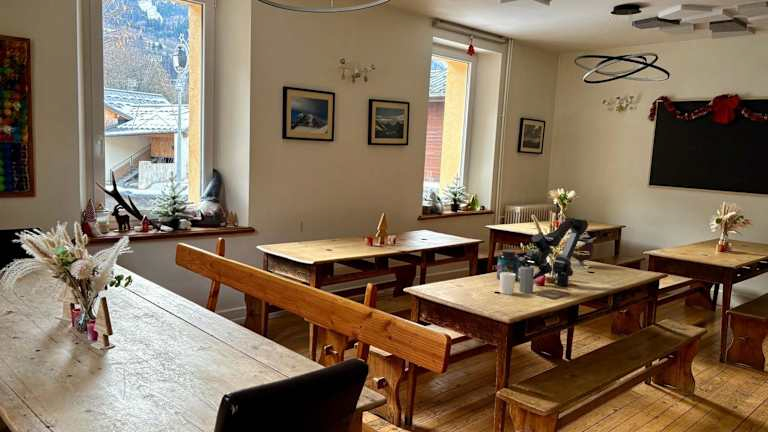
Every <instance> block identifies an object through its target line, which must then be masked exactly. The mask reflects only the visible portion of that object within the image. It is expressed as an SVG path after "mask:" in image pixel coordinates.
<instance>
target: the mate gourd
mask: <svg viewBox="0 0 768 432" xmlns="http://www.w3.org/2000/svg"><path fill="white" fill-rule="evenodd" d="M596 239H597V237H594V238H591V239H585V238H584V239H583V238H579V240H578V241H582V242H585V243H586V244H585V245H583V246H582V247H581V248H579V250H583V251H589V252H590V255H577V254H572V256H571V257H572V258H573V259H575V260H577V261H578V263H571V267H572V266H574V267H573V268H576V267H581V266H582V267H584V266H587V265H588V264H585V263H584V262H585V261H588V260H590V259H591V258H592V256H593V254H594V249H595V248H594V240H596Z"/></svg>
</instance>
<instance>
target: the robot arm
mask: <svg viewBox="0 0 768 432" xmlns="http://www.w3.org/2000/svg"><path fill="white" fill-rule="evenodd" d="M588 227H589V223H588V221H587V220H586V219H581V218H574V217H566V218H565V219H564V221H563V222H562V223H561V224H560V225H559V226H558V227H557V228H556V229H555V230H554V231H551V232H549V233H547V234H545V235H544V233H543V232H541V231H540V232H538V233H537V234H536V233H535V234H534V235H533V236H532V237H531V241H532V243H533V244H534V246H535V247H536V249H537V250H532V249H527V251H526V253H525V256H526V257H525V256H520V257H519V259H518V261H519V265H520V267H519V268H520V269H519V274H518V276H520V272H521V267H534V268H535V267H536V268H538V269H537V271H536V273H534V277H533V279H534V280H536V279H539V278H540V277H542V276H544V275H548V274H551V273H552V272H554V274H557V278H556V283H554V284H553V285H554V286H558V287H562V288H568V287H570V286H571V284H569V280H570V279H569V278H570V277H572V276H573V275H574V270H573V269H572V266H571V264H572V261H571V258H572V257H573V256H572V254H573V251H574V249H575V247H576V244H577V242H578V240H579V239H580V236H582V235H583V234H585V233H586V231H587V230H588ZM568 231H570V235H569V236H568V239H567V242H566V243H565V245H564V248H563V250H562V253H561V255H560V256H556V257H555V260H554V261H553V267H552V264H551V263H550V262H548V260H547V258H548V256H549V255H550V254H551V255H553V254H554V249H553V248H557V247H558V246H559V245H560V243H561V242H562V238H563V236H565V235H566V233H567V232H568ZM552 247H553V248H552ZM527 257H529V258H527Z"/></svg>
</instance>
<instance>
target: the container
mask: <svg viewBox="0 0 768 432" xmlns="http://www.w3.org/2000/svg"><path fill="white" fill-rule="evenodd" d="M516 252H517V251H516V250H513V249H502V251H501V253H500V254H498V256H497V265H496V266H497V268H496V278H497V279H498V280H500V273H501V272H510V273H514V274H516V278H515V282H516V281H518V279H519V272H520V269H519V268H520V263H519V261H518V259H519V258H520V257H519V256H520V255H518V254H516Z"/></svg>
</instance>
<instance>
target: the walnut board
mask: <svg viewBox="0 0 768 432" xmlns="http://www.w3.org/2000/svg"><path fill="white" fill-rule="evenodd" d="M535 296H538V297H542V298H546V299H551V300H556V299H559V298H564V297H567V296H571V292H567V291H563V290H559V289H554V288H551V289H548V290H544V291H539V292H535Z"/></svg>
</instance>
